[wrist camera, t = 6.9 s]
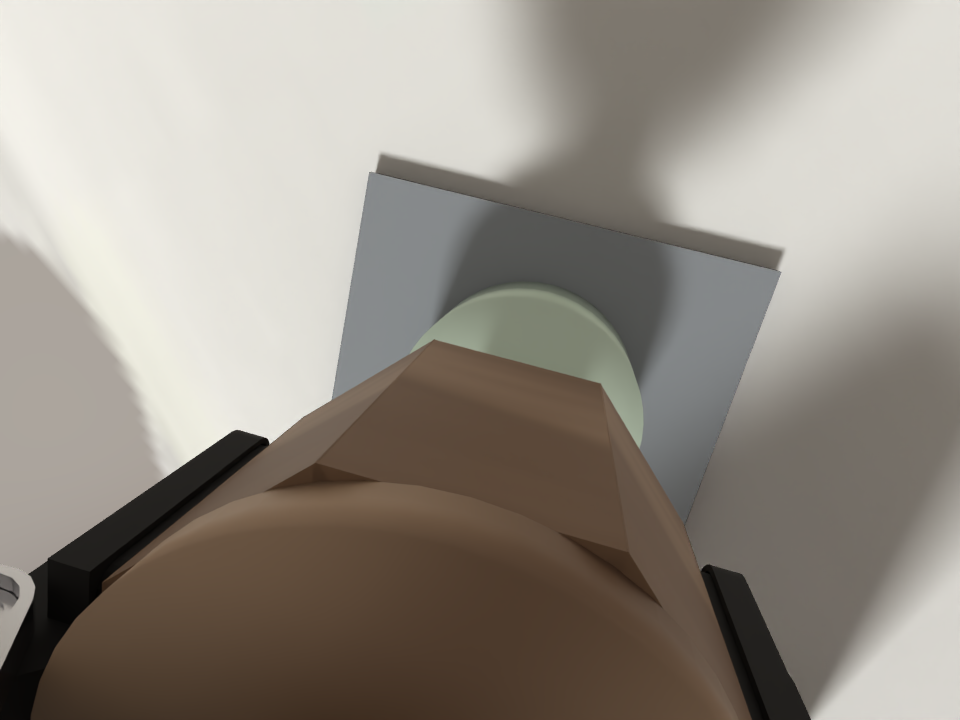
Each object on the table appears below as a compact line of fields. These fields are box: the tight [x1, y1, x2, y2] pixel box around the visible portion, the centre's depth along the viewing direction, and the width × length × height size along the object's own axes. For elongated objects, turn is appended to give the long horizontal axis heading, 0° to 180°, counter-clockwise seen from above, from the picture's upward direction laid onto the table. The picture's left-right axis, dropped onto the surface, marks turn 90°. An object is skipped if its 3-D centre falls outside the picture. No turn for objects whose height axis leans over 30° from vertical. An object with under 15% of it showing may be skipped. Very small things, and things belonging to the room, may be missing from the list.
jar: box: [410, 281, 644, 449], centre depth 18 cm, size 8×8×7 cm
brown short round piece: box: [31, 339, 752, 720], centre depth 8 cm, size 7×7×6 cm
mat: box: [332, 172, 781, 525], centre depth 21 cm, size 14×12×1 cm
